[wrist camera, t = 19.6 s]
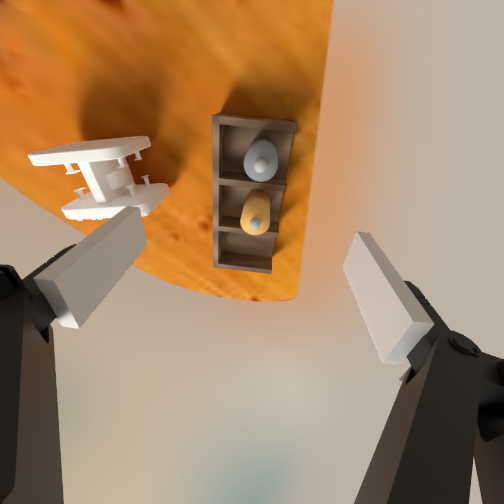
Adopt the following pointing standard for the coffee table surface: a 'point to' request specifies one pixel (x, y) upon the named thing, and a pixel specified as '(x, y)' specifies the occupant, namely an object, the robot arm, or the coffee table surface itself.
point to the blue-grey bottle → (261, 159)
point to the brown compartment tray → (245, 189)
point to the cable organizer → (104, 177)
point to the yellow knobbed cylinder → (256, 212)
